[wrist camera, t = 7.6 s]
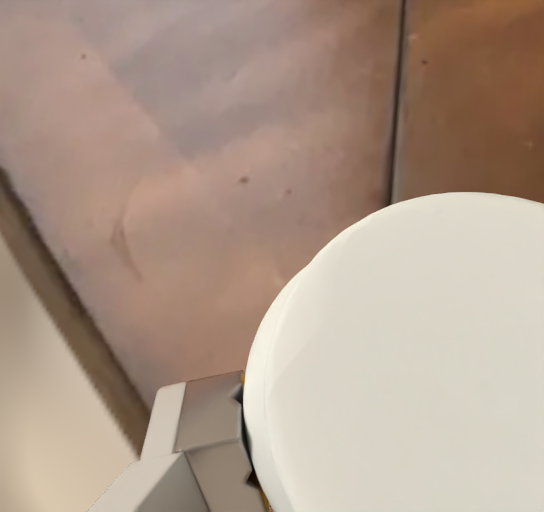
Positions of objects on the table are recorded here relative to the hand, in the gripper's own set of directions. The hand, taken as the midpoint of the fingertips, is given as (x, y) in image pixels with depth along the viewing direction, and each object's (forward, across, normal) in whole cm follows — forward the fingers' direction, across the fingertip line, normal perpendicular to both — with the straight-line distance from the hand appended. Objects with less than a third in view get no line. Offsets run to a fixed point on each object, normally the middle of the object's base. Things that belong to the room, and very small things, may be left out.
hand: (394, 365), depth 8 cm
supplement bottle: (+4, 0, +4) cm, 6 cm away
